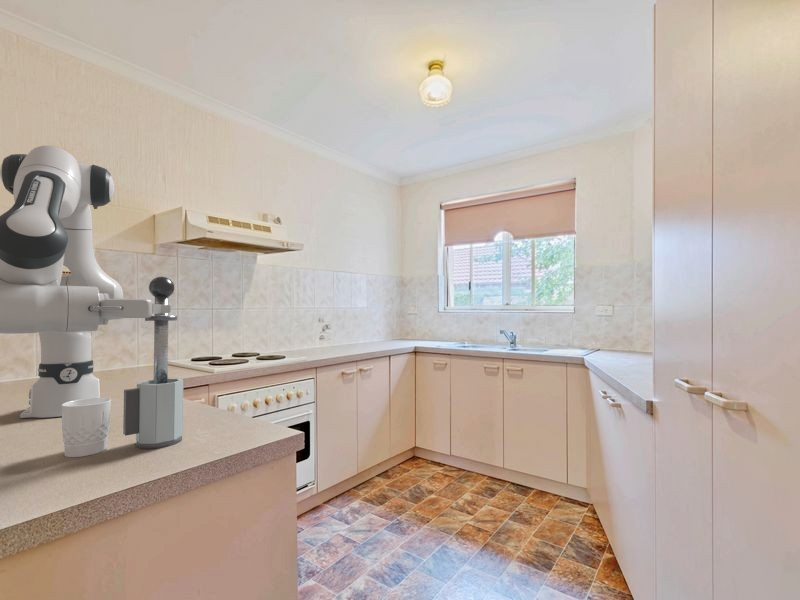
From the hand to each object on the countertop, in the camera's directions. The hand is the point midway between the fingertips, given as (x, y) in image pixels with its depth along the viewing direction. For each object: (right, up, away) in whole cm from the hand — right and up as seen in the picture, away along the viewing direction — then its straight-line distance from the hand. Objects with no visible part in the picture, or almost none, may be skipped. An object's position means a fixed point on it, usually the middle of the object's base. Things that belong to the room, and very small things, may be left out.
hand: (166, 309), depth 86 cm
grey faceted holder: (-1, -29, -2) cm, 29 cm away
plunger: (-1, -19, -1) cm, 19 cm away
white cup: (-12, -29, -7) cm, 32 cm away
